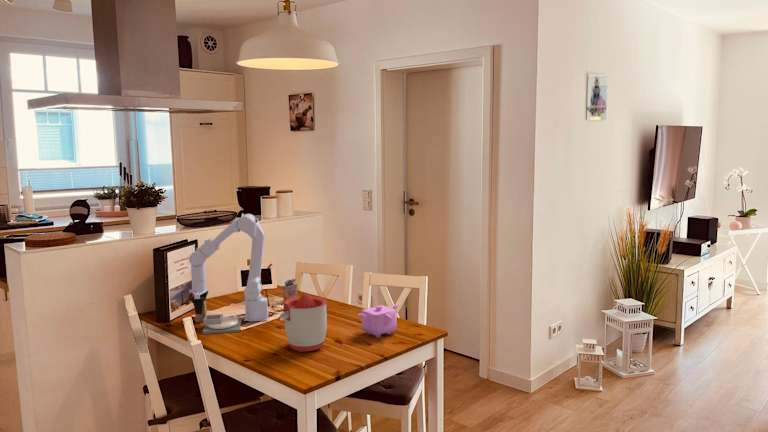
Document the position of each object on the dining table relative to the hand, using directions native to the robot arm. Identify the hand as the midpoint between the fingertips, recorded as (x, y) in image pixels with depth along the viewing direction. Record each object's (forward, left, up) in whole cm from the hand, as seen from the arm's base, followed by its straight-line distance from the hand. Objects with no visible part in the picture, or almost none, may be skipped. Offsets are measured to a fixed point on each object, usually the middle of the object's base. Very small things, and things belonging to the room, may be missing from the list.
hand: (200, 311), depth 251 cm
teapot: (-71, +30, -4) cm, 77 cm away
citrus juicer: (-42, +40, -4) cm, 58 cm away
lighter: (-37, -23, -4) cm, 44 cm away
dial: (-10, +11, -3) cm, 15 cm away
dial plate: (-10, +11, -4) cm, 15 cm away
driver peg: (0, 0, -4) cm, 4 cm away
